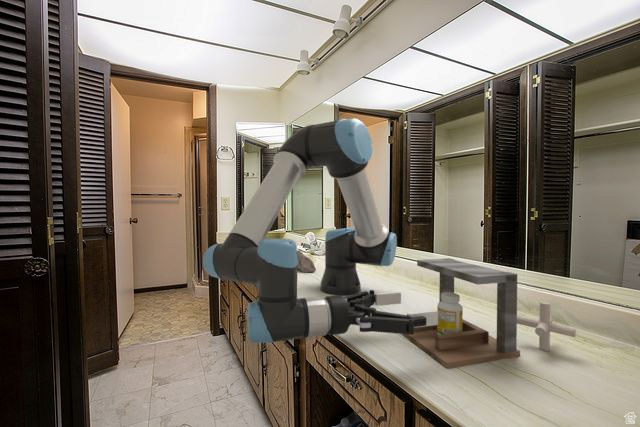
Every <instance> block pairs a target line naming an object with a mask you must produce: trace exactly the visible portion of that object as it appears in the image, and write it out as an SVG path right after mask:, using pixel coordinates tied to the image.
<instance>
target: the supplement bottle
mask: <svg viewBox="0 0 640 427" xmlns="http://www.w3.org/2000/svg"><path fill="white" fill-rule="evenodd" d="M460 298H461V297H460V294H458V293H455V292H454V293H451V292H442V293H441V300H442V301H440V302H439V301H438V303H437V309H436V311H438V325H437V333H438V335H443V334H450V333H458V332H462V319H463V315H464V313H463V311H464V310H463V309H464V308H463V306H462V305H461V303H459V302H460V300H461V299H460Z"/></svg>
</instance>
